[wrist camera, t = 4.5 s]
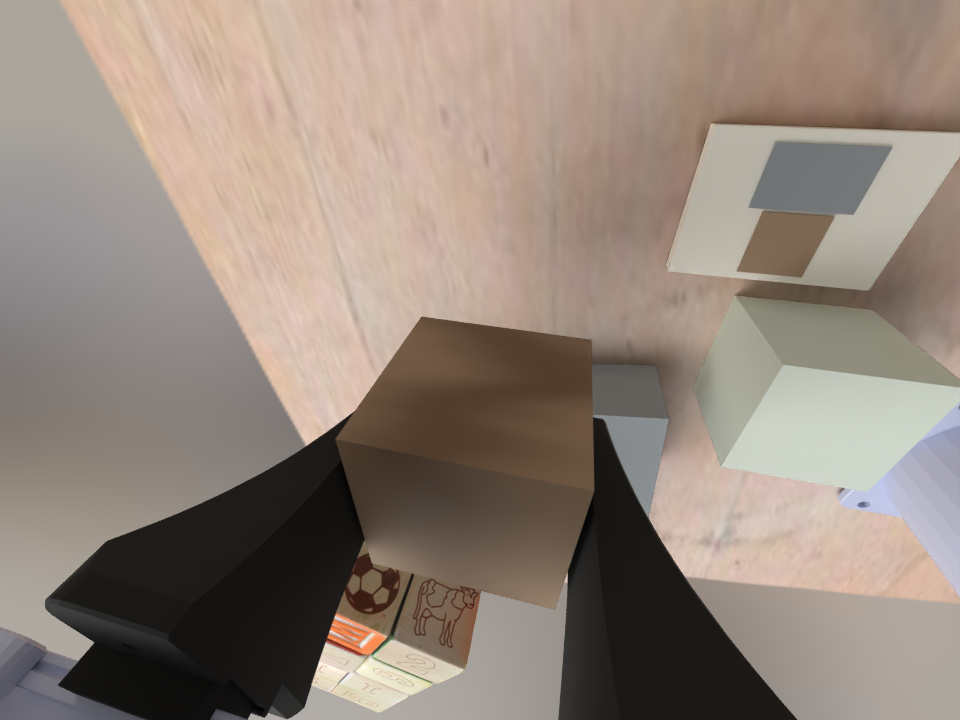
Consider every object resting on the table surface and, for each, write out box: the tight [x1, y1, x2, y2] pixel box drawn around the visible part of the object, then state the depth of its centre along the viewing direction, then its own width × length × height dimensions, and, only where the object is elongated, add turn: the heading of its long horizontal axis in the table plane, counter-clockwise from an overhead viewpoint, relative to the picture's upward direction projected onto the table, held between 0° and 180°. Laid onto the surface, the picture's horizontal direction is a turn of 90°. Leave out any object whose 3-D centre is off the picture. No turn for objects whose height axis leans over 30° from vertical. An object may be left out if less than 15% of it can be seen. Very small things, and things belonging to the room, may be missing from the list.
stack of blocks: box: [312, 541, 481, 712], centre depth 25 cm, size 21×6×12 cm, turn 155°
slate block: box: [592, 364, 669, 518], centre depth 20 cm, size 7×7×4 cm
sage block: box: [693, 295, 960, 492], centre depth 15 cm, size 5×5×5 cm
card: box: [666, 123, 960, 291], centre depth 13 cm, size 7×5×1 cm
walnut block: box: [335, 317, 594, 609], centre depth 11 cm, size 5×5×5 cm
